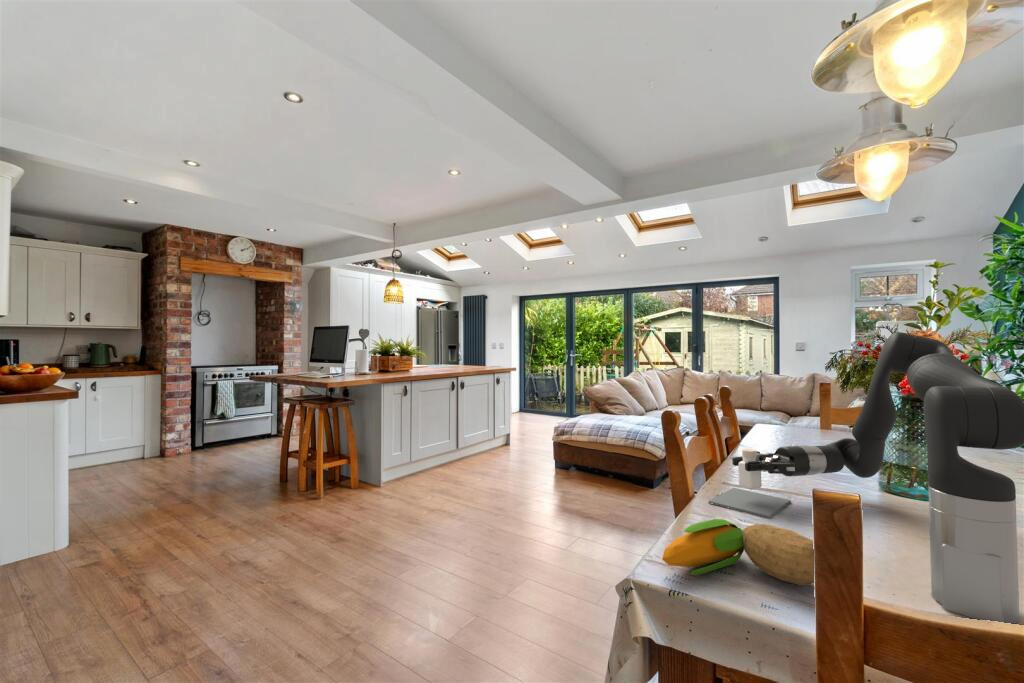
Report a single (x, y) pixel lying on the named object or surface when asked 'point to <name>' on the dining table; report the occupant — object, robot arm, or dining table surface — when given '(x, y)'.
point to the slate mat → (751, 502)
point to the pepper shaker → (749, 477)
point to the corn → (706, 546)
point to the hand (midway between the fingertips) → (739, 464)
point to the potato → (780, 553)
